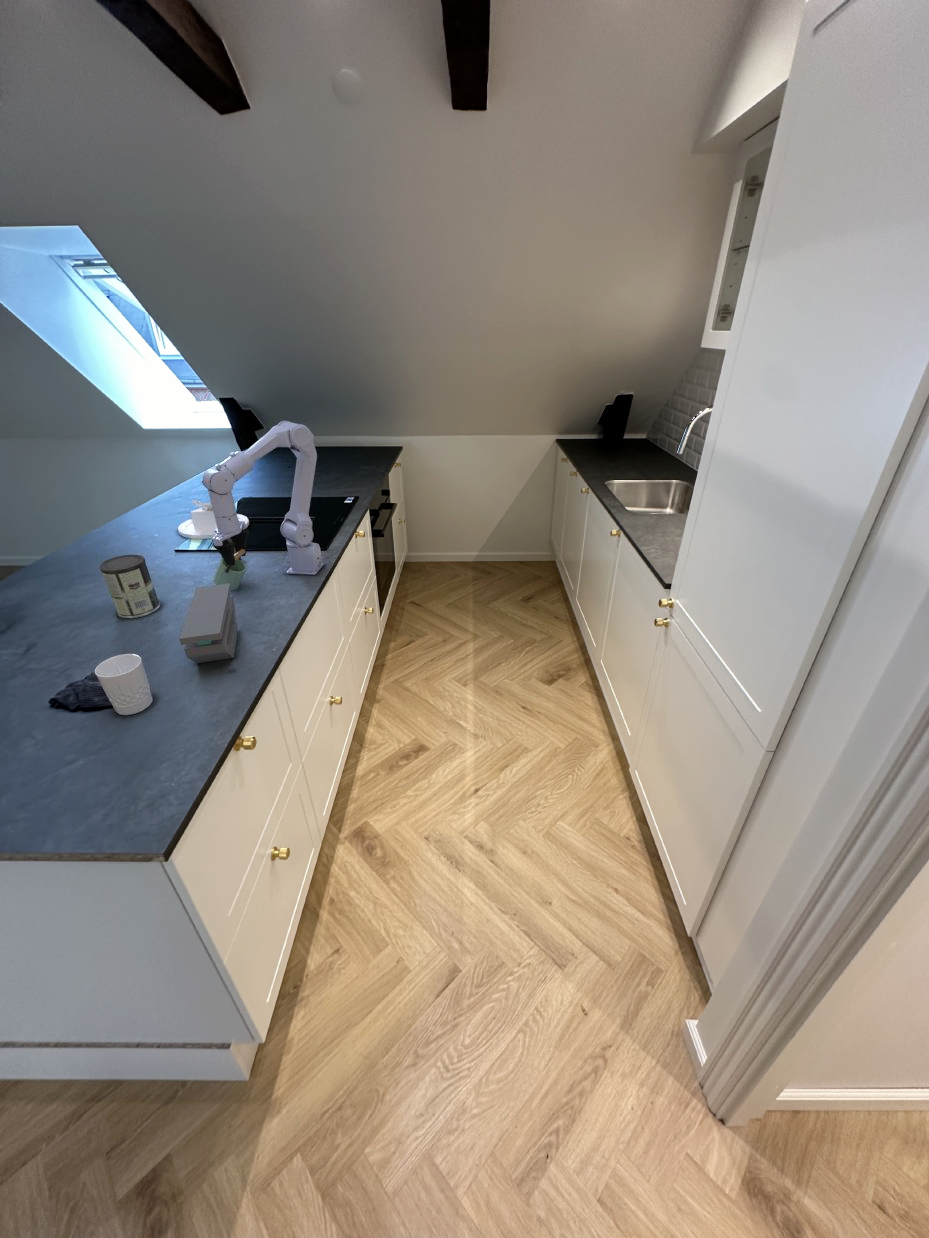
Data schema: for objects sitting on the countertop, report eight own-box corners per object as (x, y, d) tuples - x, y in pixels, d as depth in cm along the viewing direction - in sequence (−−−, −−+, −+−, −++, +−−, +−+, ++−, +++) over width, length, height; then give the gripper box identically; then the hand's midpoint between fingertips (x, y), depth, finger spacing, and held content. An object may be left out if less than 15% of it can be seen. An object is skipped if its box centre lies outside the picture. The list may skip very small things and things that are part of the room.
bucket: (243, 582, 154) (256, 554, 149) (230, 594, 147) (243, 565, 142) (222, 569, 153) (234, 541, 148) (207, 582, 146) (219, 552, 141)
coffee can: (140, 598, 145) (124, 552, 138) (168, 603, 142) (153, 557, 135) (108, 615, 137) (89, 566, 130) (137, 621, 134) (119, 572, 127)
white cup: (124, 693, 108) (107, 654, 103) (162, 691, 109) (148, 652, 104) (104, 718, 101) (86, 677, 96) (145, 716, 102) (129, 676, 97)
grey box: (207, 624, 133) (196, 587, 127) (239, 620, 135) (229, 583, 129) (192, 680, 112) (179, 638, 107) (231, 674, 114) (219, 633, 109)
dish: (234, 539, 185) (226, 508, 179) (165, 538, 185) (156, 508, 179) (258, 516, 206) (253, 489, 200) (197, 516, 206) (189, 488, 201)
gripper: (224, 505, 146) (235, 549, 153) (197, 522, 133) (210, 570, 140) (248, 506, 145) (258, 550, 152) (222, 523, 133) (234, 571, 140)
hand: (236, 560), depth 146 cm, fingers closed on bucket, 6 cm apart
